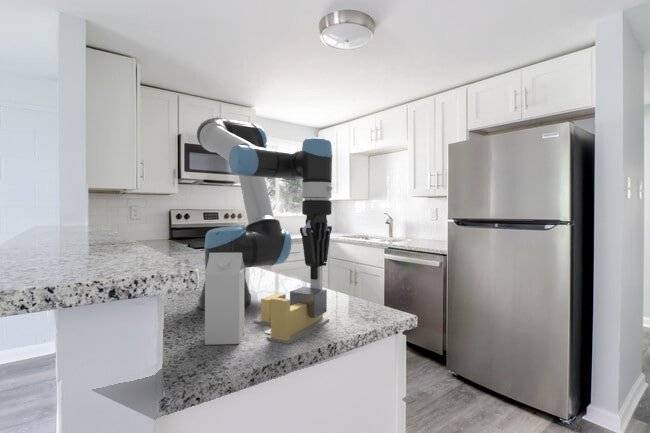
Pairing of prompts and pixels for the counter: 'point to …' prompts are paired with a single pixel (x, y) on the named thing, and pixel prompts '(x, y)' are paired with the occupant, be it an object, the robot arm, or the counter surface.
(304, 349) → the counter surface
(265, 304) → the stub
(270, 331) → the label
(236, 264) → the milk carton
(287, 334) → the rail
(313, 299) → the grey block
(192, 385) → the counter surface
